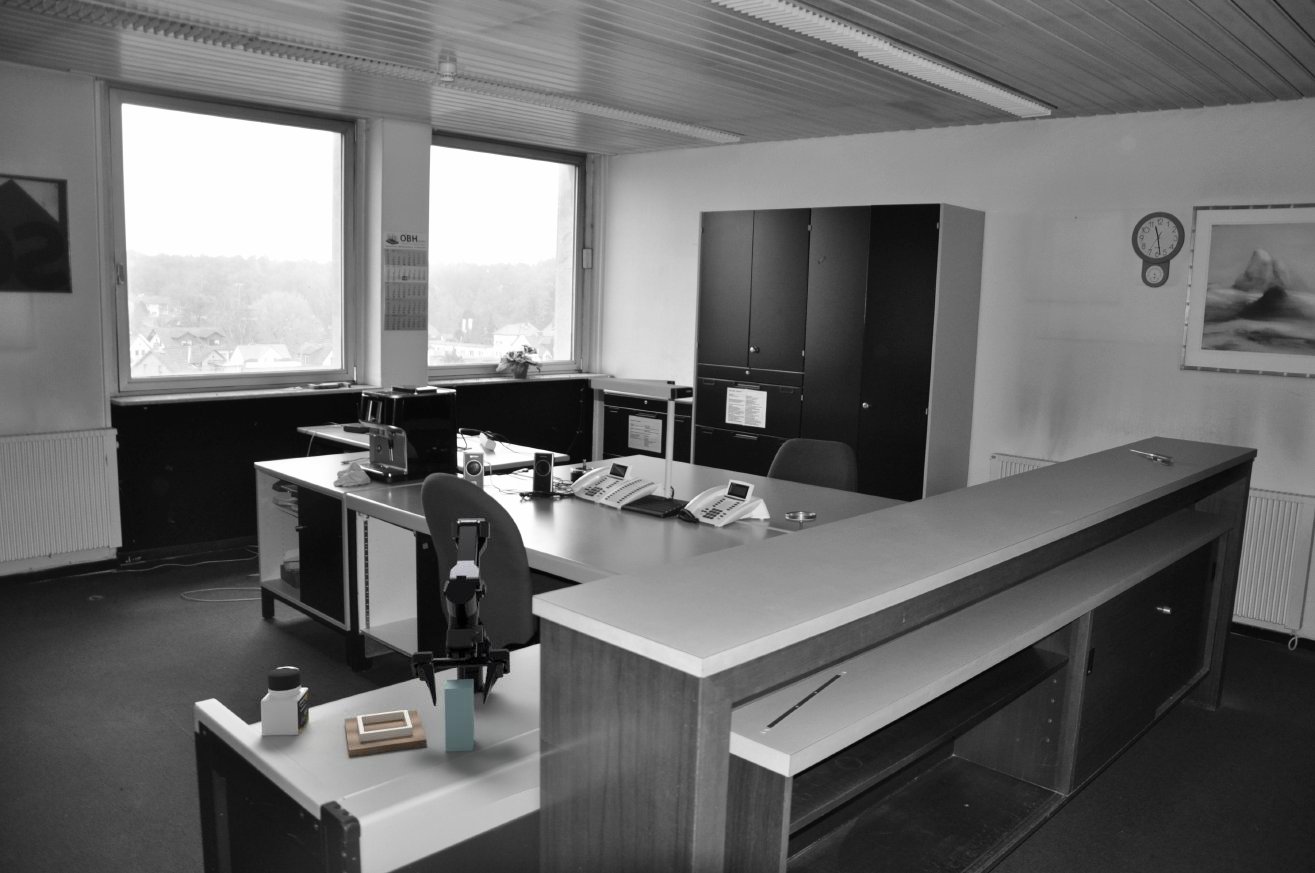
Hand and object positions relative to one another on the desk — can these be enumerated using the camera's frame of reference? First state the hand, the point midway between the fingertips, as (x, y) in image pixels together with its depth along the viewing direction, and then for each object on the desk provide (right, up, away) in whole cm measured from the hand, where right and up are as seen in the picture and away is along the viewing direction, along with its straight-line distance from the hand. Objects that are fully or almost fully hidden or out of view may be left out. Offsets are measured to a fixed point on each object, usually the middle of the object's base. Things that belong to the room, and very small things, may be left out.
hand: (459, 703), depth 180 cm
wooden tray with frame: (-16, -7, +5) cm, 18 cm away
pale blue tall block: (0, -8, +1) cm, 8 cm away
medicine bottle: (-36, -7, +8) cm, 38 cm away
